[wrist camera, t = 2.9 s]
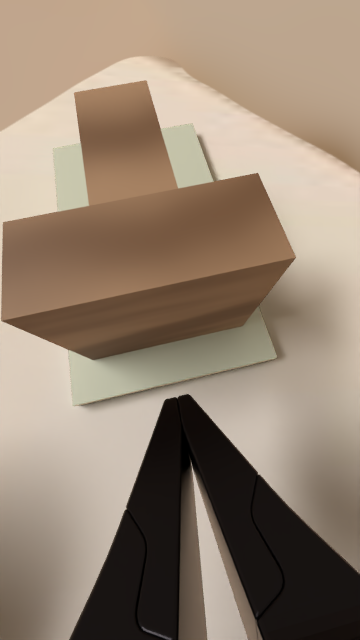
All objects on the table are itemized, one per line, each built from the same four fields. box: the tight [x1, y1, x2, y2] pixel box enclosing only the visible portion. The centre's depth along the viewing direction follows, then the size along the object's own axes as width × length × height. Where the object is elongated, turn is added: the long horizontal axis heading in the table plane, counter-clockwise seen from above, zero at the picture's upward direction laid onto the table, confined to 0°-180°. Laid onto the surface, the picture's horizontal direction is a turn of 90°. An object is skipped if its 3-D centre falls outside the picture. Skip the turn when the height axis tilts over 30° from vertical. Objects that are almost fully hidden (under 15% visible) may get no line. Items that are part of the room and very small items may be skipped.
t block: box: [1, 81, 296, 360], centre depth 13 cm, size 11×10×8 cm
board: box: [53, 123, 277, 406], centre depth 19 cm, size 22×13×1 cm, turn 13°
